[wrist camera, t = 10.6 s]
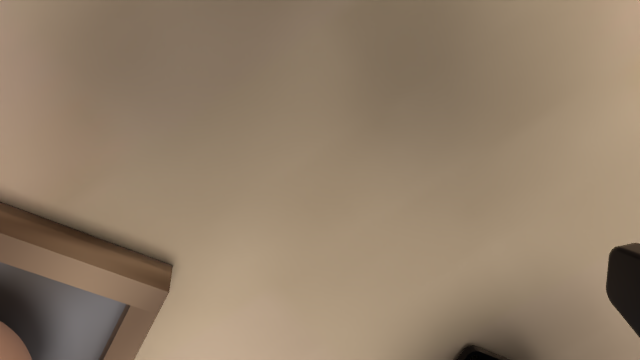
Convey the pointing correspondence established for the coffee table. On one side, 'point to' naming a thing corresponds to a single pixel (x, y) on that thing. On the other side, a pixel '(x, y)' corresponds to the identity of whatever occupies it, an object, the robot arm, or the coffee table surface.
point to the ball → (12, 345)
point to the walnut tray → (75, 290)
